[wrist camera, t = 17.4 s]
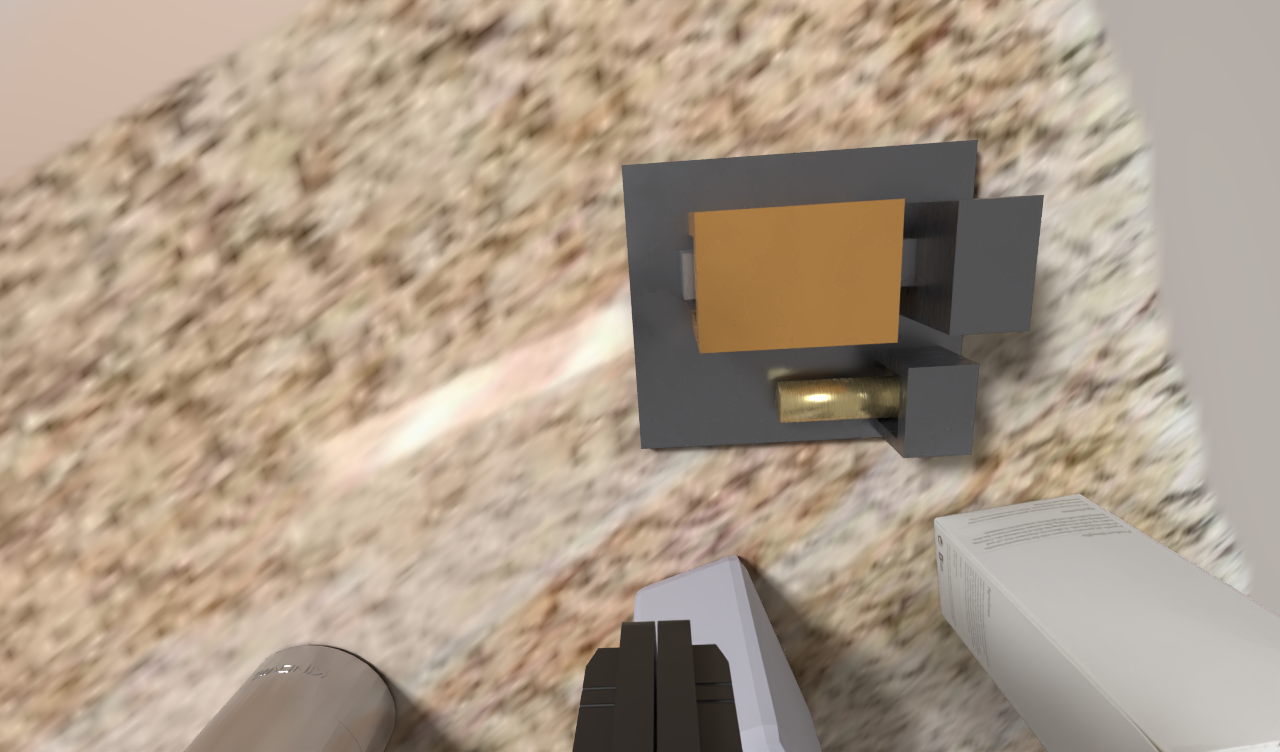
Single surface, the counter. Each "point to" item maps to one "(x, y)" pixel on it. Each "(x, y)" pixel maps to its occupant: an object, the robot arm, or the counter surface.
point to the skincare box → (1108, 632)
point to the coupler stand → (745, 380)
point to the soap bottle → (738, 650)
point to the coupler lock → (797, 275)
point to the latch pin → (837, 399)
